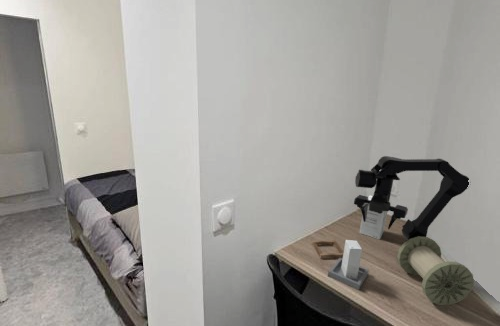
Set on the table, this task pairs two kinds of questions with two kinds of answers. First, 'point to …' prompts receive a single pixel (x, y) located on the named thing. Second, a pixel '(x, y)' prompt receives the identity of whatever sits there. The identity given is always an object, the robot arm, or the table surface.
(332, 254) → the open wooden picture frame
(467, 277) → the spool
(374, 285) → the table surface
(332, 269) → the cradle tray
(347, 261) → the skincare box
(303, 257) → the table surface
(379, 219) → the supplement box
